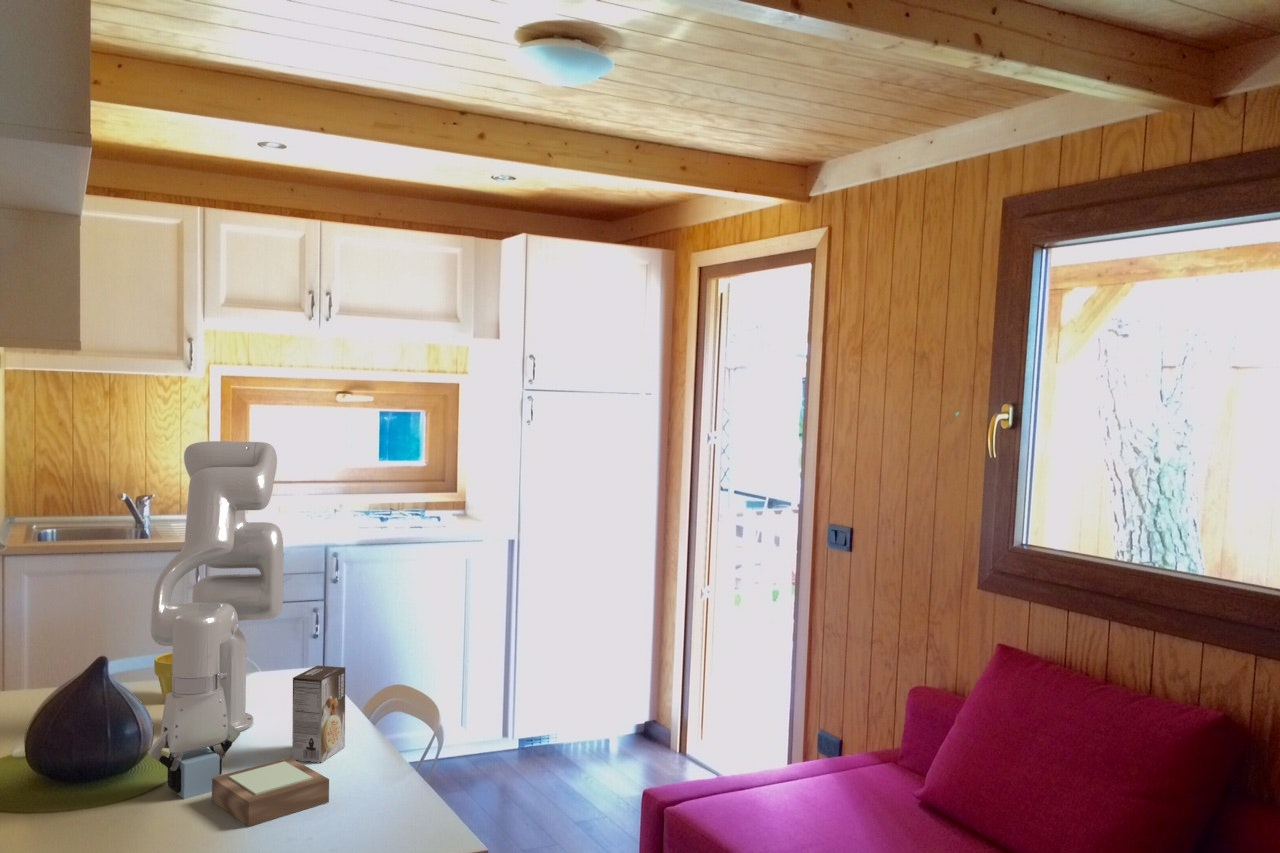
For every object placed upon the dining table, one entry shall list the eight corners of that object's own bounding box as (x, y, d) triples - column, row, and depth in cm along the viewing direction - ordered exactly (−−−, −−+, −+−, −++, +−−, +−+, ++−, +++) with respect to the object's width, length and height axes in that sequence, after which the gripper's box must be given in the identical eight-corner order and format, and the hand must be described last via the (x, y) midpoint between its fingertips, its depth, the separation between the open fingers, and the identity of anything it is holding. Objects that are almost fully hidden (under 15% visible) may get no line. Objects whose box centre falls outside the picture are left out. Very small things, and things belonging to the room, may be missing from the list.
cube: (170, 789, 171) (170, 755, 171) (205, 779, 175) (205, 746, 175) (184, 799, 167) (184, 764, 167) (219, 789, 171) (219, 755, 171)
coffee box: (316, 744, 194) (317, 664, 194) (345, 747, 193) (346, 666, 193) (290, 760, 185) (292, 676, 185) (321, 764, 184) (322, 679, 184)
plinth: (211, 800, 166) (212, 775, 166) (289, 779, 177) (290, 755, 176) (248, 826, 157) (249, 800, 157) (328, 802, 167) (329, 777, 167)
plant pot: (152, 708, 214) (152, 664, 214) (155, 695, 223) (155, 652, 223) (204, 703, 218) (204, 660, 218) (205, 690, 228) (205, 649, 227)
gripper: (235, 669, 180) (234, 767, 180) (135, 688, 167) (134, 792, 168) (253, 678, 174) (252, 778, 175) (152, 698, 162) (151, 805, 162)
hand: (194, 784), depth 171 cm, fingers closed on cube, 6 cm apart
